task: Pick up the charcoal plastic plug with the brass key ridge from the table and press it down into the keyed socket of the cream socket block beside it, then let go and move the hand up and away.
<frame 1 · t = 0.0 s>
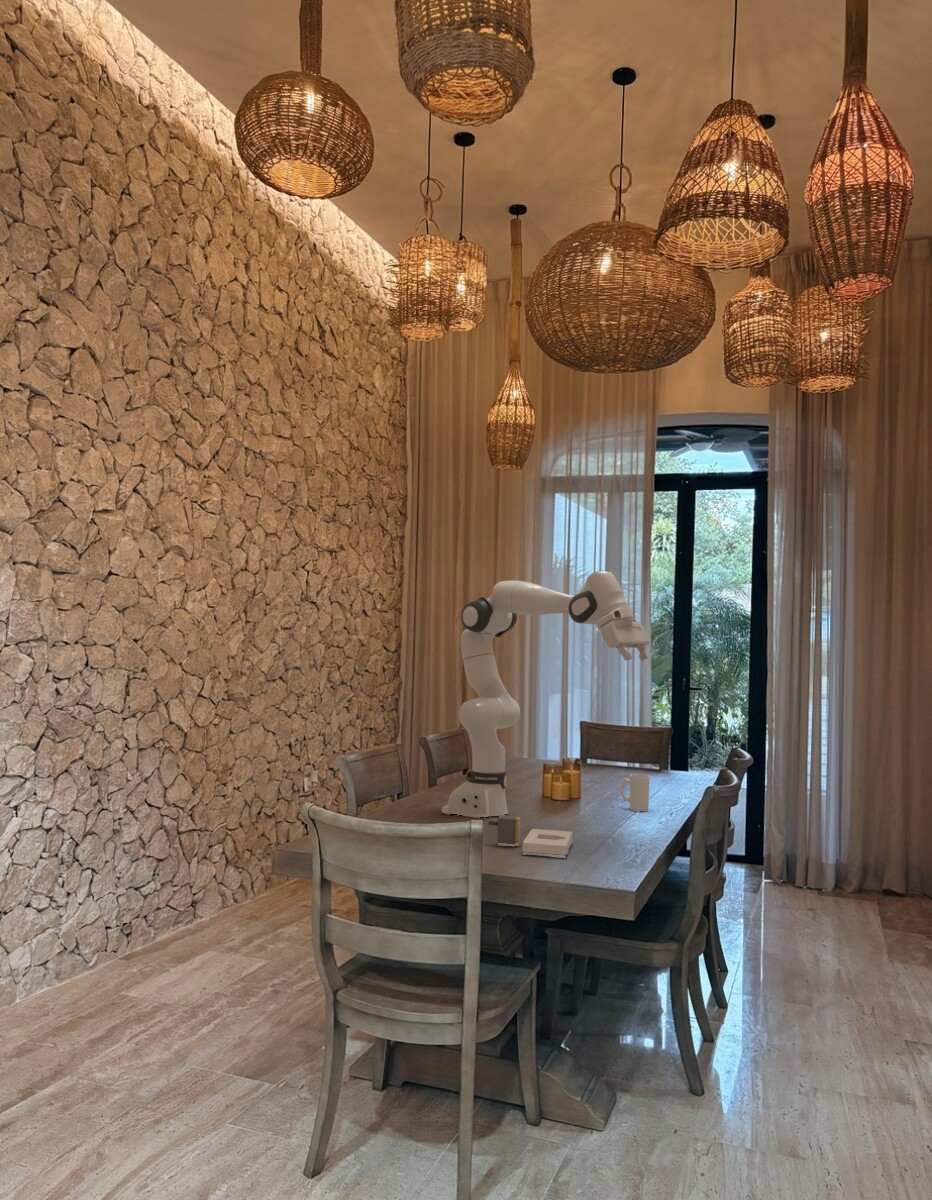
hand: (636, 659, 270), 54 cm above the table, tool tilted 30°, fingers open, 8 cm apart
mug: (634, 810, 318), on the table
plug: (507, 845, 261), on the table
socket block: (548, 849, 257), on the table
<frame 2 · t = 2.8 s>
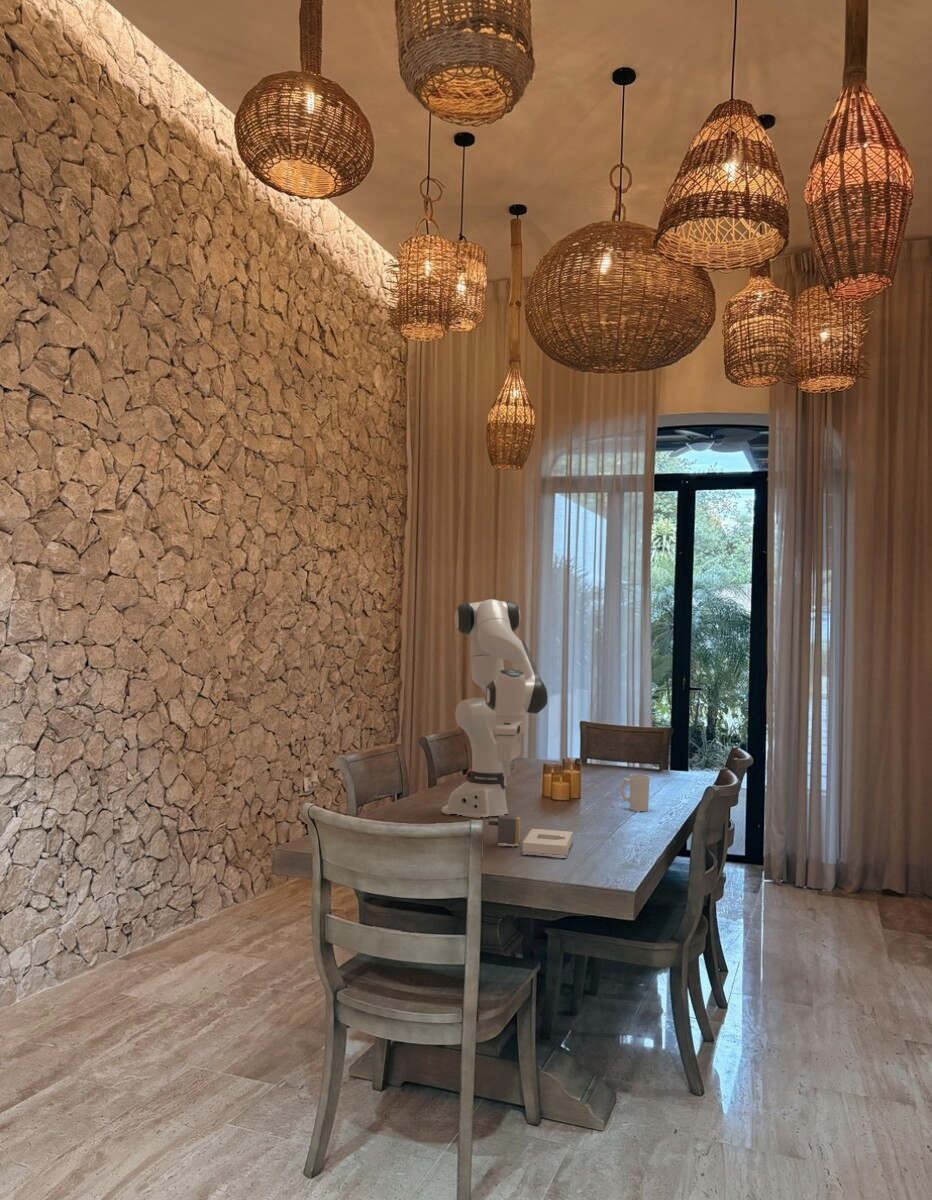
hand: (509, 773, 262), 20 cm above the table, tool pointing down, fingers open, 8 cm apart
nothing on the table moved.
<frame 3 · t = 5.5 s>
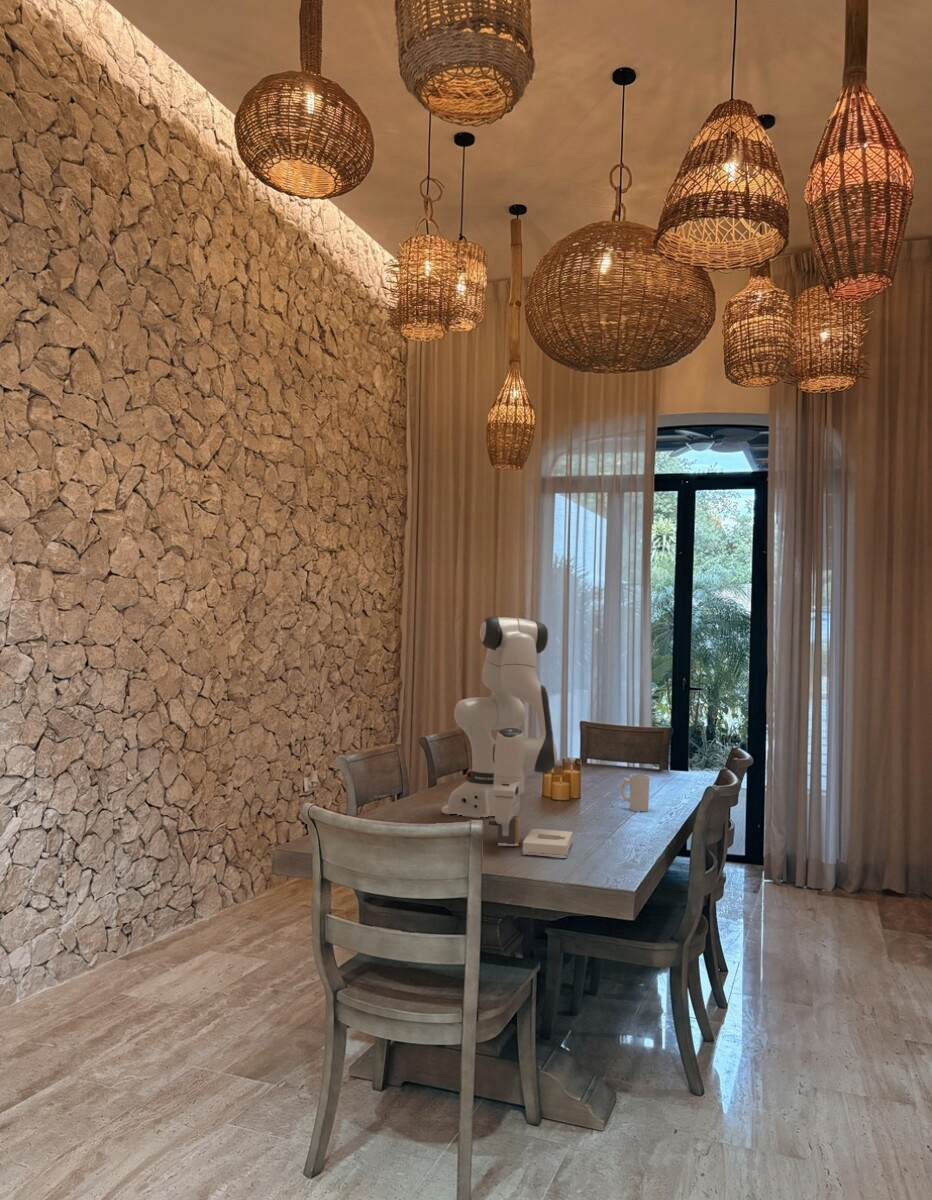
hand: (507, 833, 261), 3 cm above the table, tool pointing down, fingers closed on plug, 4 cm apart
plug: (507, 845, 261), on the table, touching gripper
everything else where it was.
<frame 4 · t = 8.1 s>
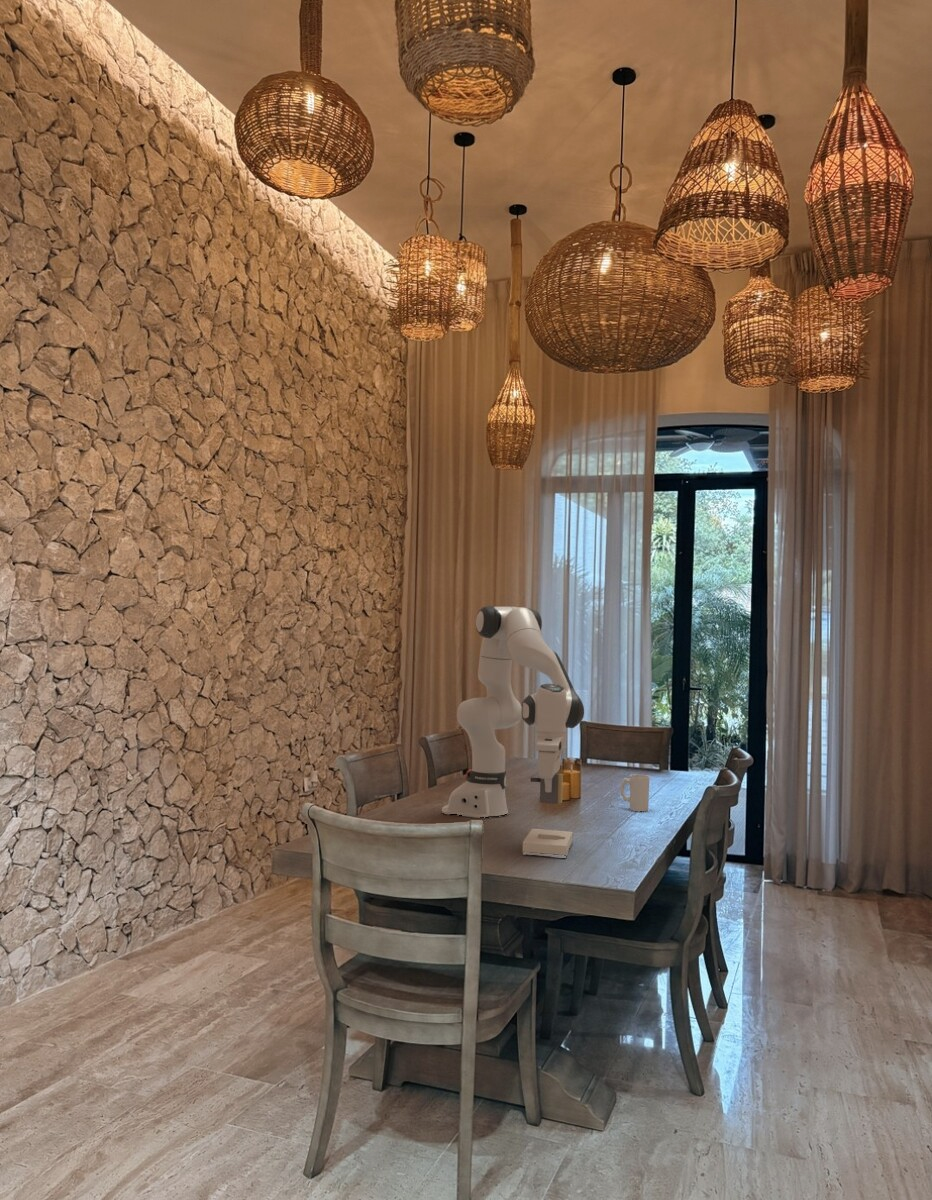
hand: (549, 790, 258), 17 cm above the table, tool pointing down, fingers closed on plug, 4 cm apart
plug: (549, 801, 258), point 13 cm above the table, touching gripper
everything else where it was.
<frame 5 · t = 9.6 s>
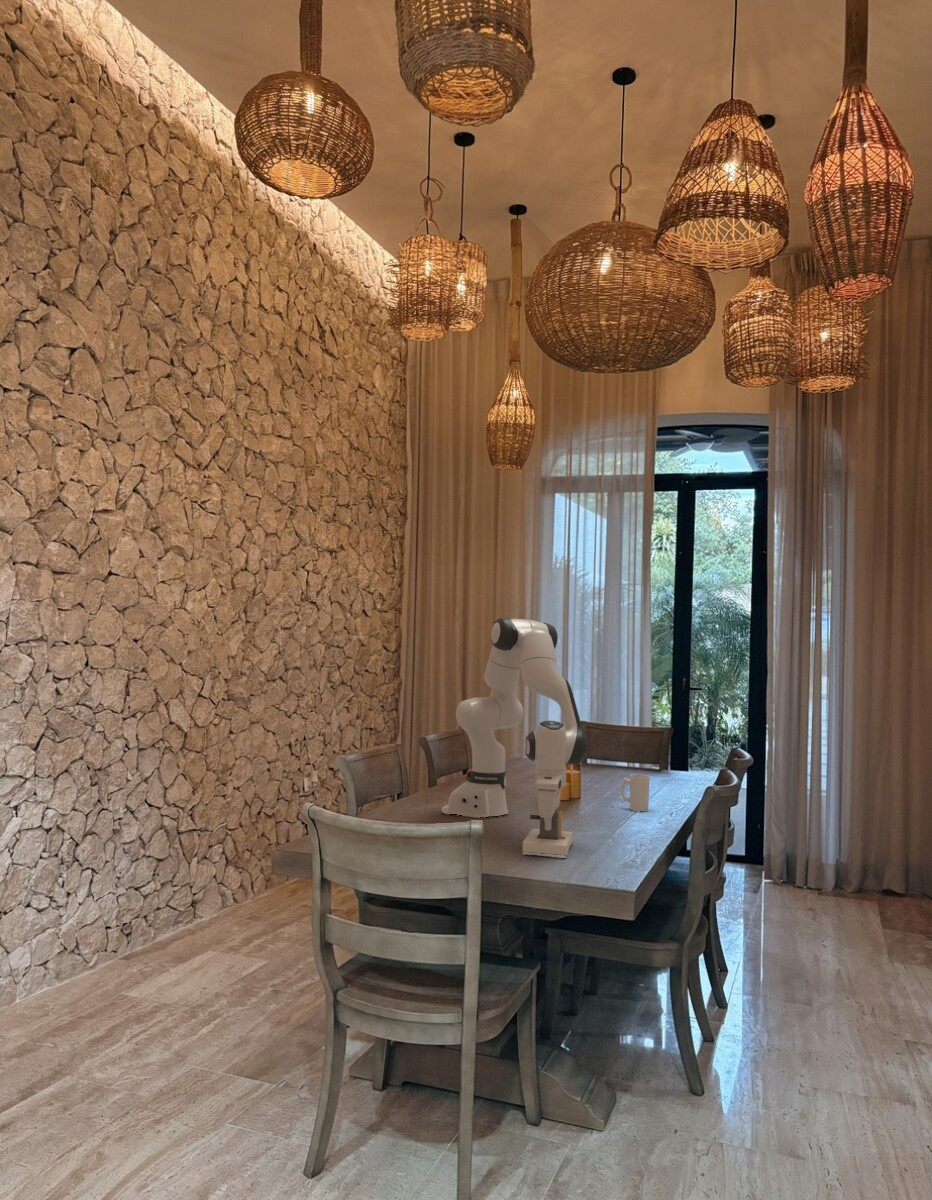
hand: (549, 827, 258), 6 cm above the table, tool pointing down, fingers closed on plug, 4 cm apart
plug: (549, 839, 257), point 3 cm above the table, touching gripper
everything else where it was.
when the fingers open (4 cm above the table, at t = 11.0 s): plug stays where it is, resting on socket block.
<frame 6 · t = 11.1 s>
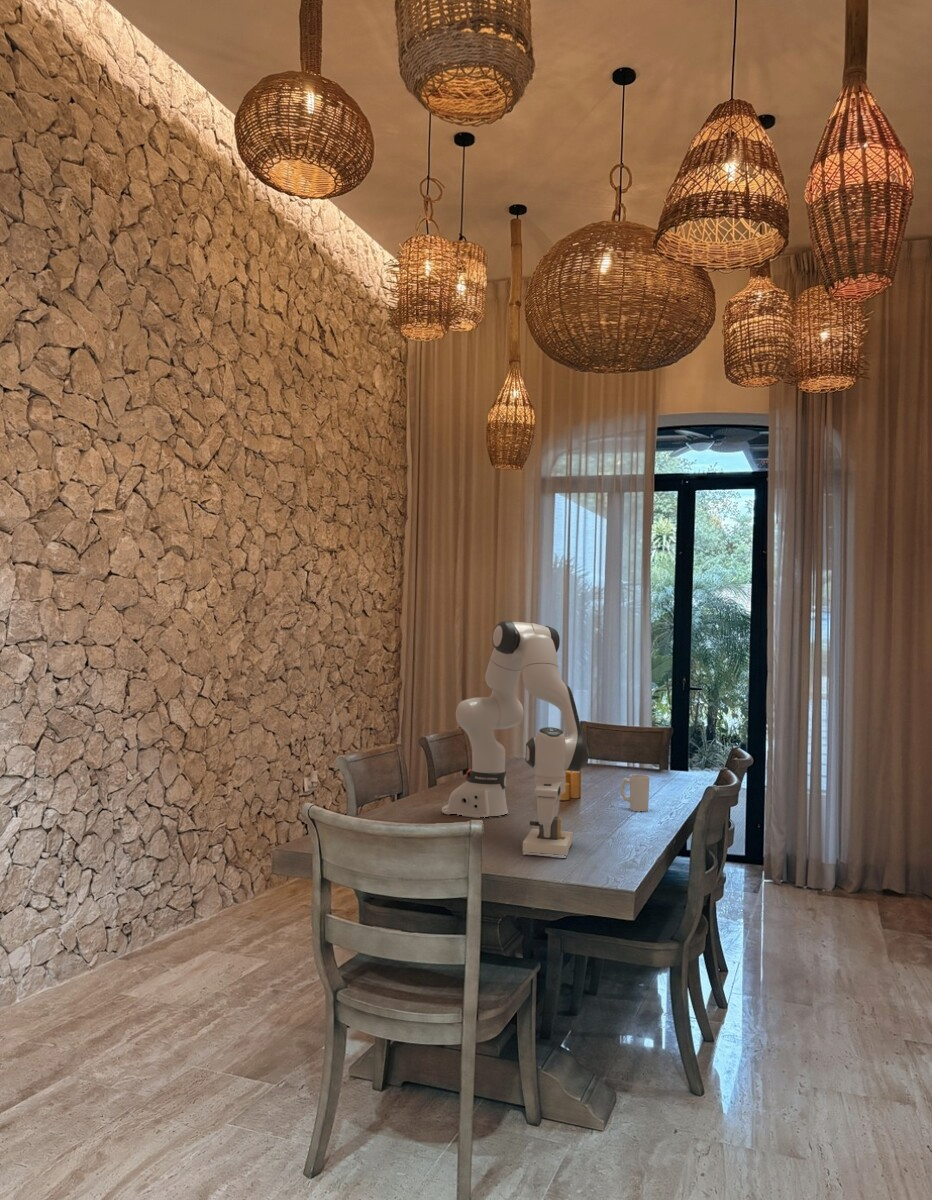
hand: (548, 834, 258), 4 cm above the table, tool pointing down, fingers open, 5 cm apart
plug: (548, 845, 257), point 1 cm above the table, touching socket block
everything else where it was.
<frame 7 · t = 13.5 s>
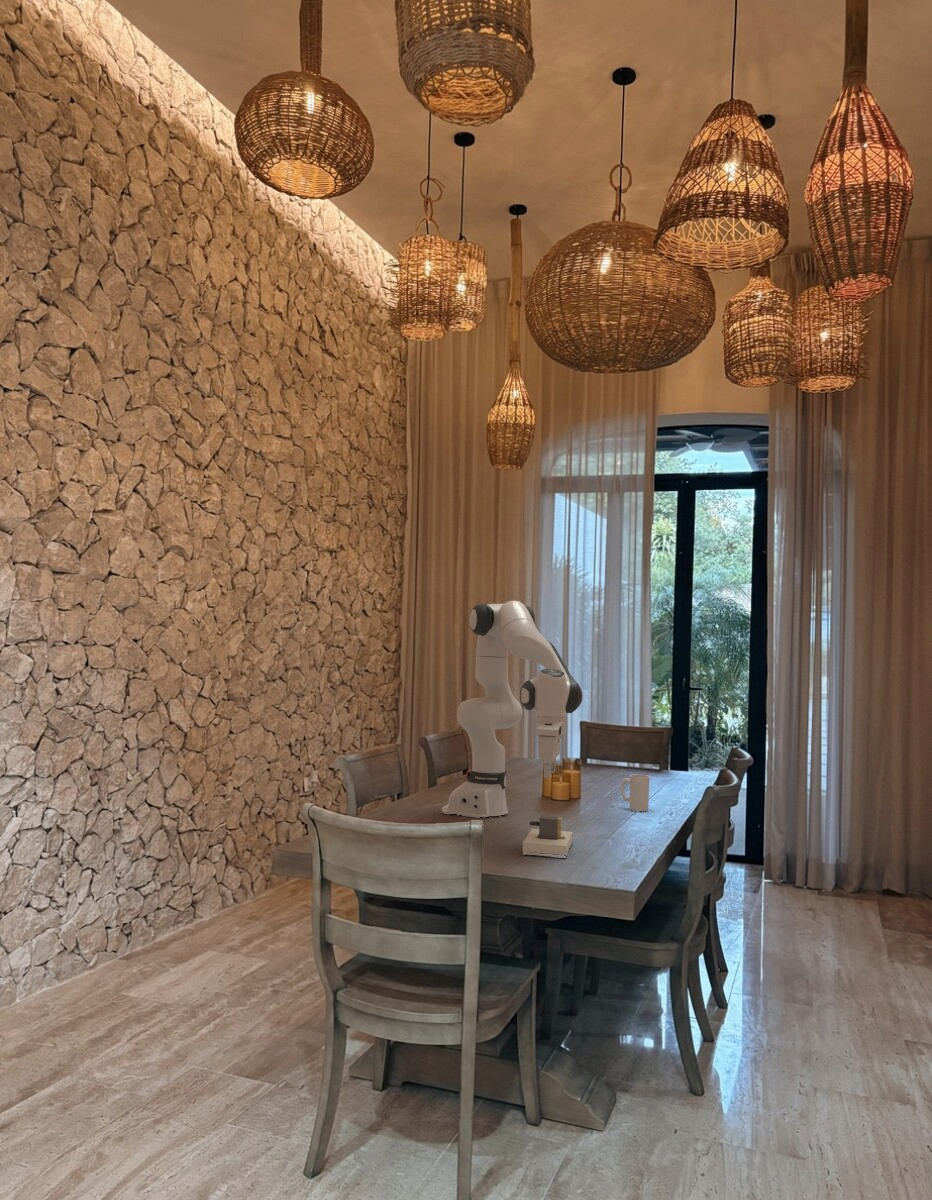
hand: (549, 774, 259), 21 cm above the table, tool pointing down, fingers open, 8 cm apart
nothing on the table moved.
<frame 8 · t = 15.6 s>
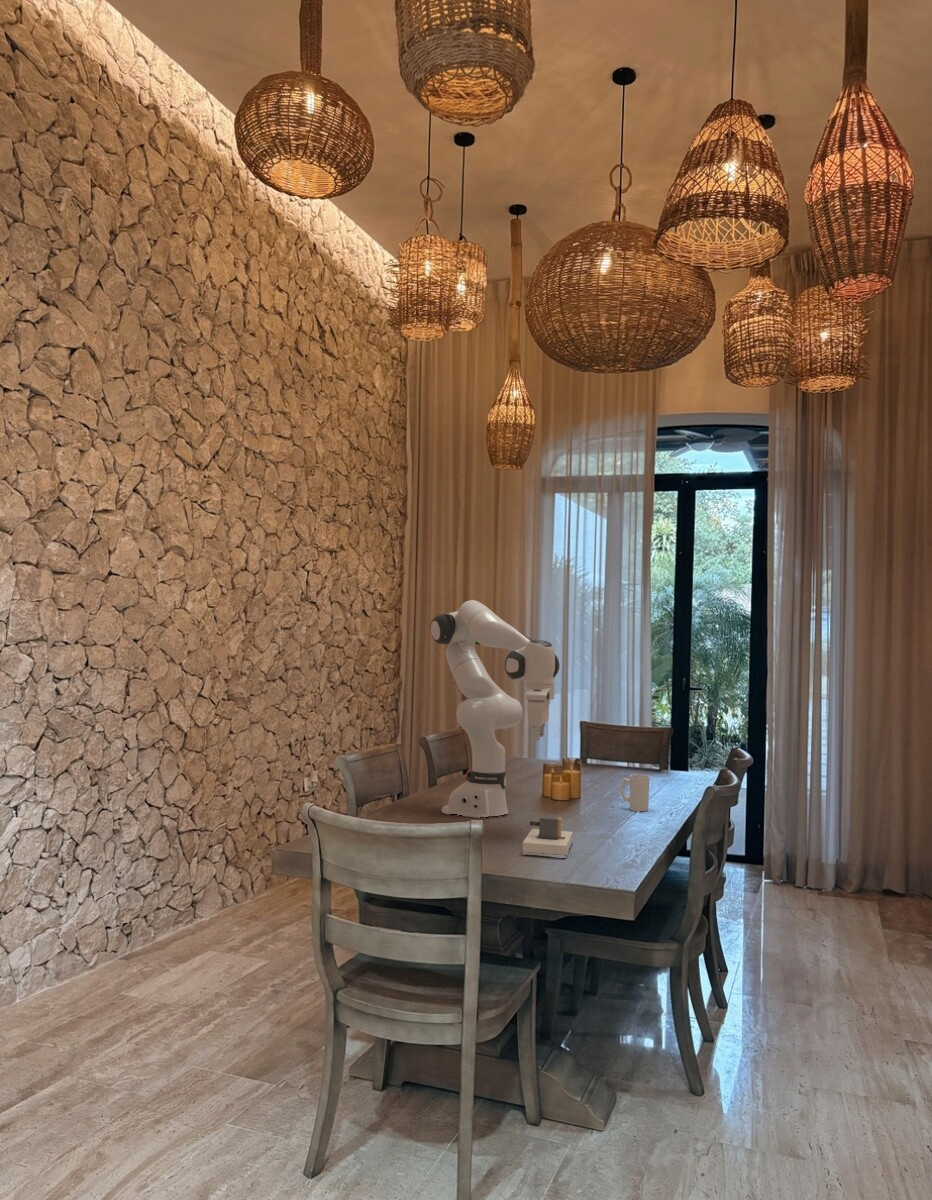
hand: (538, 738, 277), 29 cm above the table, tool pointing down, fingers open, 8 cm apart
nothing on the table moved.
at the end: plug 0.1 cm off-centre on the socket block, point 1.0 cm above the socket block's base; plug tilted 0°; the gripper is holding nothing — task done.
